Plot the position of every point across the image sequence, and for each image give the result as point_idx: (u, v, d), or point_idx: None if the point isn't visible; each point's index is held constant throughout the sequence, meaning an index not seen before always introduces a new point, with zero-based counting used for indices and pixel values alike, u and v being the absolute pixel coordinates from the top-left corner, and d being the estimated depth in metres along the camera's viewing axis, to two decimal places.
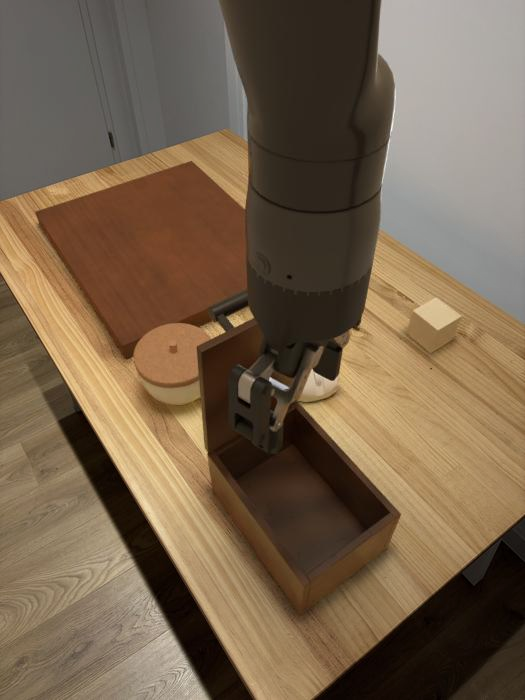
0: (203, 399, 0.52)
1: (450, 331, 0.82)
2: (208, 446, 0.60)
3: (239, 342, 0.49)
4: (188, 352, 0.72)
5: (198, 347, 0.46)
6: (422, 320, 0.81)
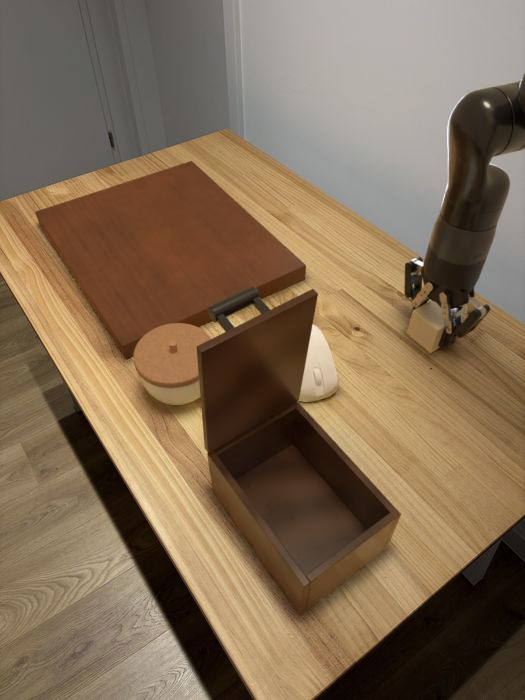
0: (203, 399, 0.52)
1: None
2: (208, 446, 0.60)
3: (239, 342, 0.49)
4: (188, 352, 0.72)
5: (198, 347, 0.46)
6: (422, 320, 0.81)
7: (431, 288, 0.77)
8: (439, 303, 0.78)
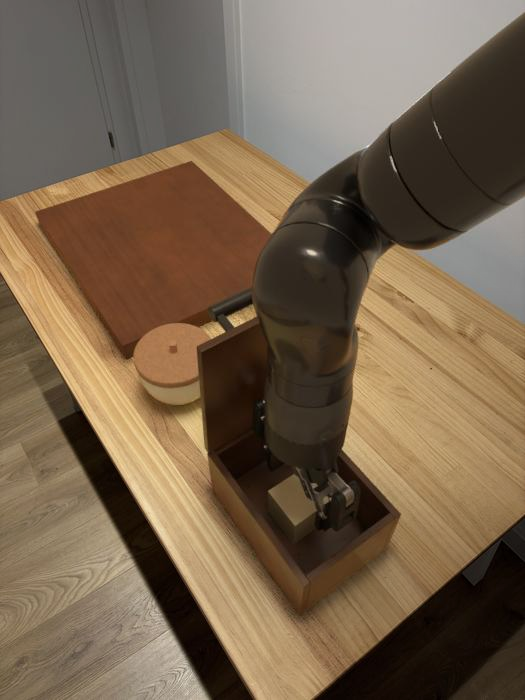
0: (203, 399, 0.52)
1: None
2: (208, 446, 0.60)
3: (239, 342, 0.49)
4: (188, 352, 0.72)
5: (198, 347, 0.46)
6: (278, 506, 0.61)
7: None
8: None
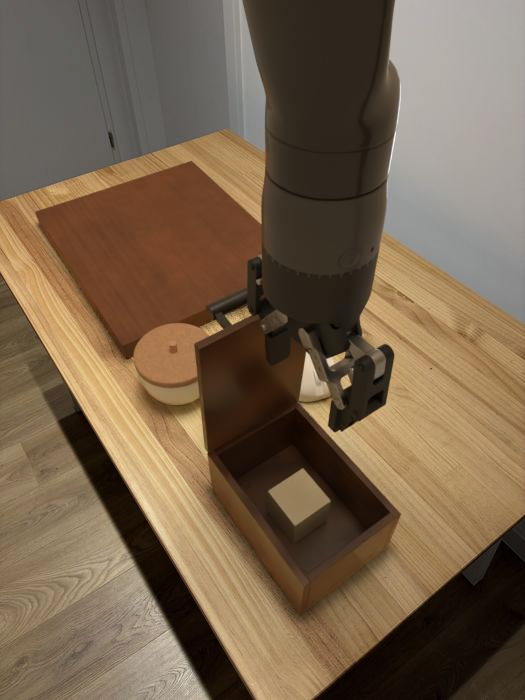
0: (202, 397, 0.52)
1: (317, 518, 0.62)
2: (208, 446, 0.60)
3: (237, 339, 0.49)
4: (188, 352, 0.72)
5: (196, 344, 0.47)
6: (278, 506, 0.61)
7: (285, 320, 0.40)
8: None
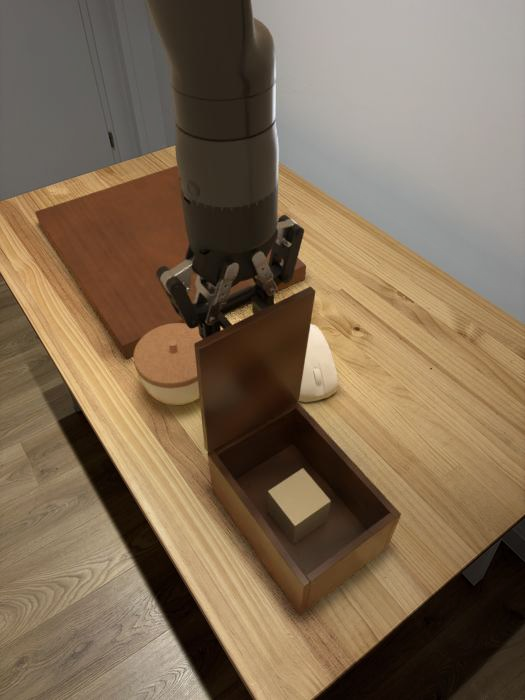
0: (202, 397, 0.52)
1: (317, 518, 0.62)
2: (208, 446, 0.60)
3: (237, 339, 0.49)
4: (188, 352, 0.72)
5: (196, 344, 0.47)
6: (278, 506, 0.61)
7: (237, 268, 0.46)
8: (245, 276, 0.49)
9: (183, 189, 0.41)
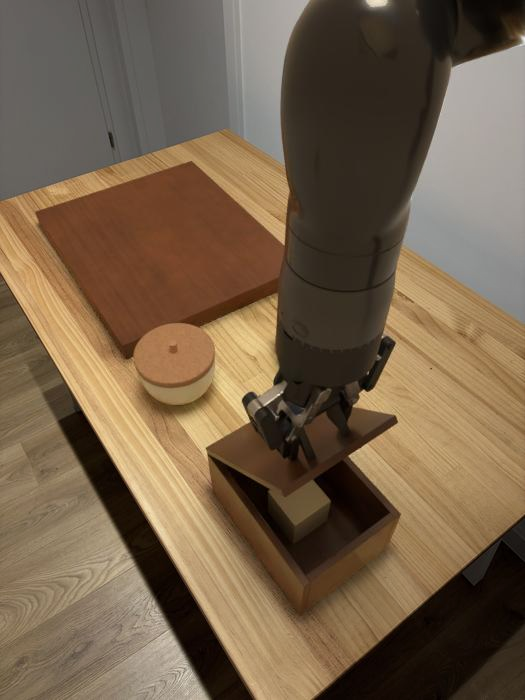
0: (246, 474, 0.51)
1: (317, 518, 0.62)
2: (213, 456, 0.60)
3: None
4: (188, 352, 0.72)
5: (283, 491, 0.44)
6: (278, 506, 0.61)
7: (329, 392, 0.42)
8: (332, 394, 0.45)
9: (285, 324, 0.36)
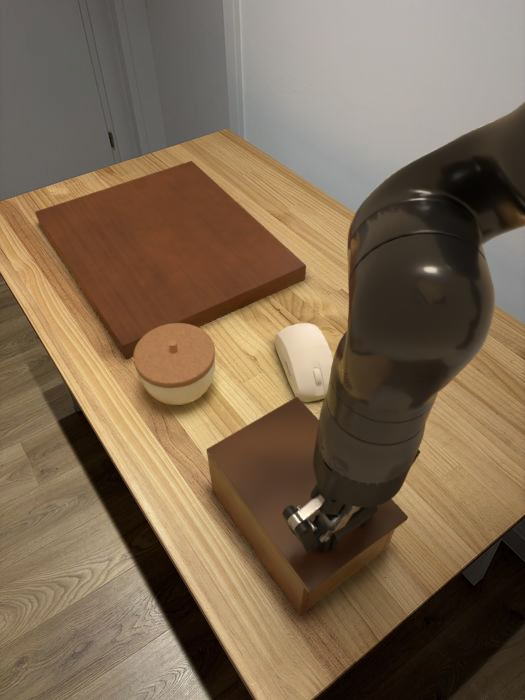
0: (262, 529, 0.55)
1: None
2: None
3: None
4: (188, 352, 0.72)
5: (310, 591, 0.51)
6: None
7: None
8: None
9: (325, 457, 0.41)
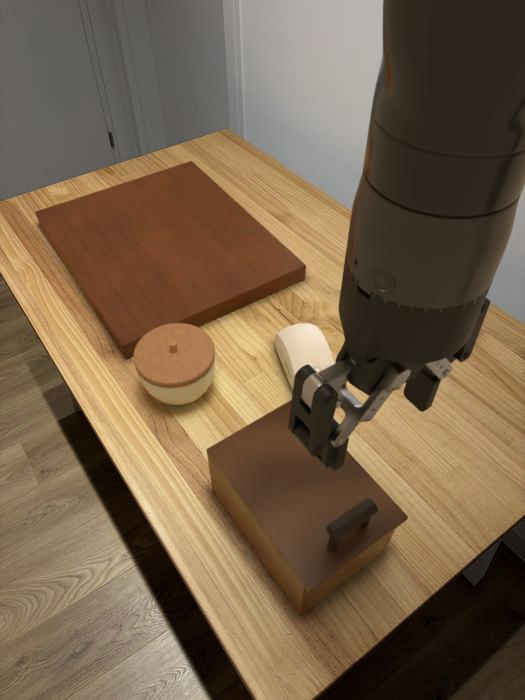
0: (262, 529, 0.55)
1: None
2: None
3: None
4: (188, 352, 0.72)
5: (310, 591, 0.51)
6: None
7: (407, 376, 0.32)
8: (406, 379, 0.35)
9: (360, 277, 0.27)
